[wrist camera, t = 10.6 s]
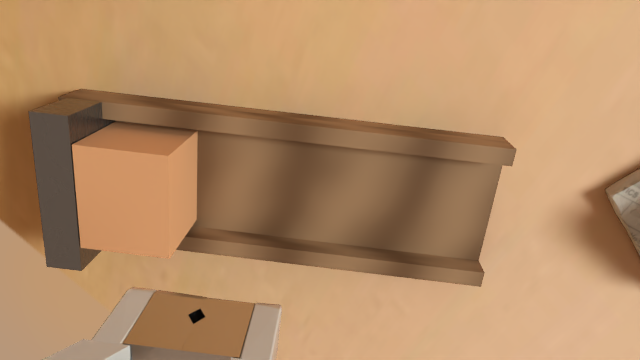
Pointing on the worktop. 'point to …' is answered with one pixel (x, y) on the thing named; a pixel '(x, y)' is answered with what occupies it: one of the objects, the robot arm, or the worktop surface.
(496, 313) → the worktop surface
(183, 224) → the orange block
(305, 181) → the track
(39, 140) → the end stop
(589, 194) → the worktop surface
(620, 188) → the packaged product
